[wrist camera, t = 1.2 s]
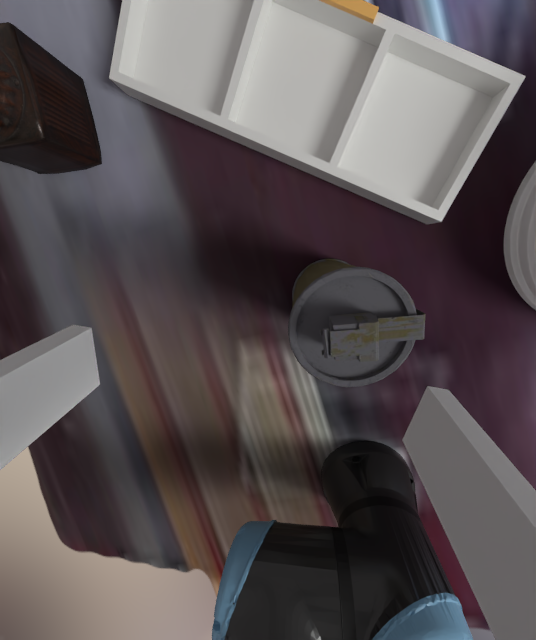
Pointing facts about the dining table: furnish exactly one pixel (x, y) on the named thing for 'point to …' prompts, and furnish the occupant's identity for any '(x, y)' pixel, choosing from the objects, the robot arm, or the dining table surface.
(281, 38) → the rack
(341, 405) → the dining table surface
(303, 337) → the canister
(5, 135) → the pepper mill
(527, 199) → the plate stack
